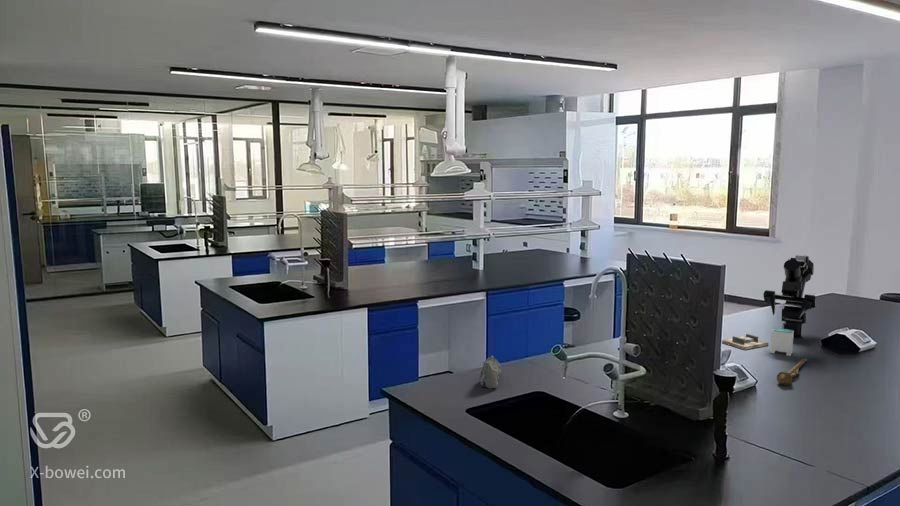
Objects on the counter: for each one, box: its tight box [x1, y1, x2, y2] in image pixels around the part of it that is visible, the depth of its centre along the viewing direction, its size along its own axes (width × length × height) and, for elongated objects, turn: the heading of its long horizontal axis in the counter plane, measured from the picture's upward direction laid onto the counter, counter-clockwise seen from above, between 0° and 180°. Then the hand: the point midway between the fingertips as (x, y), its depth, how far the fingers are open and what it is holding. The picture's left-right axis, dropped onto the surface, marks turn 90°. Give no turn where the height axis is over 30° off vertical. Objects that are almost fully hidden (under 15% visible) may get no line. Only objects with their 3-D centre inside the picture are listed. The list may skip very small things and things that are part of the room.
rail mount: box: [721, 333, 769, 351], centre depth 251 cm, size 14×11×3 cm
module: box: [769, 327, 794, 357], centre depth 239 cm, size 5×7×9 cm
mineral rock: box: [479, 355, 502, 389], centre depth 207 cm, size 13×11×10 cm
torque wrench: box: [776, 357, 808, 386], centre depth 215 cm, size 5×35×5 cm
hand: (786, 316), depth 244 cm, fingers open, 9 cm apart
